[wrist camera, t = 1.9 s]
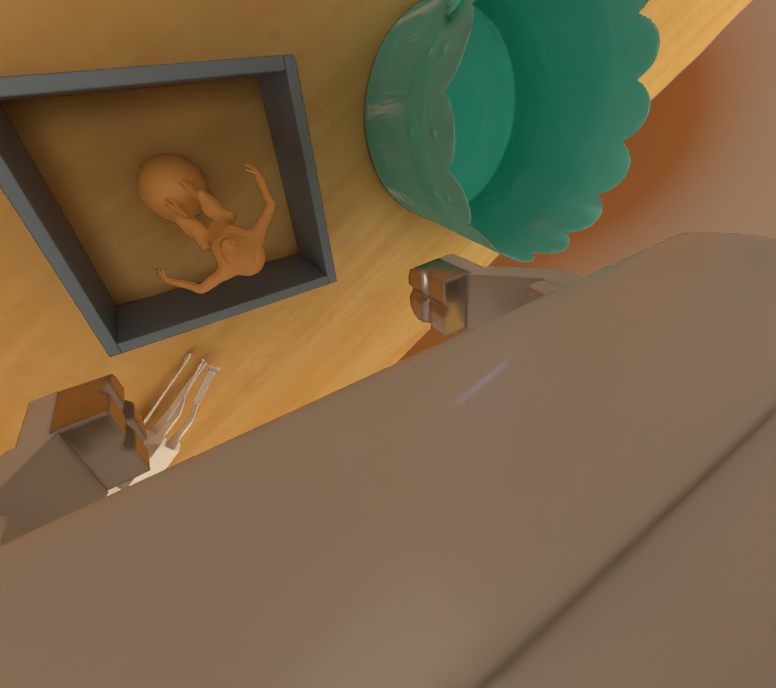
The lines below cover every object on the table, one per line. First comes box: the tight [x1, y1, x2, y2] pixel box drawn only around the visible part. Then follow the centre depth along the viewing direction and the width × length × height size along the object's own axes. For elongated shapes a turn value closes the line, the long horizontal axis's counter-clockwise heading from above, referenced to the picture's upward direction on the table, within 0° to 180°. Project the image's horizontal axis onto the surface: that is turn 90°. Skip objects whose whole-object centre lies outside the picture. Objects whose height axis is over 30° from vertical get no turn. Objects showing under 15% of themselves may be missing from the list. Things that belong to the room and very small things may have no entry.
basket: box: [365, 0, 660, 262], centre depth 30 cm, size 19×18×13 cm
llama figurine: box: [106, 353, 220, 497], centre depth 30 cm, size 2×11×18 cm
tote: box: [0, 54, 337, 357], centre depth 24 cm, size 15×14×6 cm
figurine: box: [137, 154, 276, 294], centre depth 22 cm, size 8×6×12 cm
